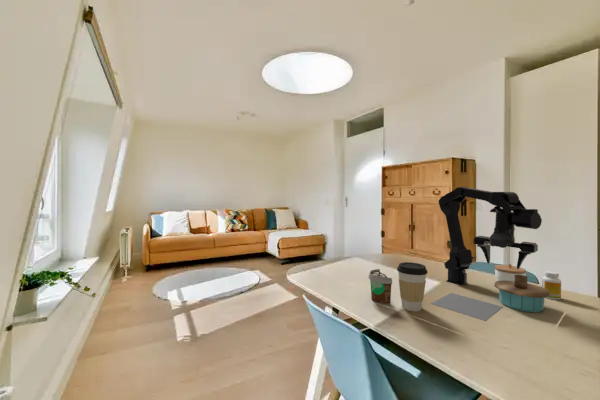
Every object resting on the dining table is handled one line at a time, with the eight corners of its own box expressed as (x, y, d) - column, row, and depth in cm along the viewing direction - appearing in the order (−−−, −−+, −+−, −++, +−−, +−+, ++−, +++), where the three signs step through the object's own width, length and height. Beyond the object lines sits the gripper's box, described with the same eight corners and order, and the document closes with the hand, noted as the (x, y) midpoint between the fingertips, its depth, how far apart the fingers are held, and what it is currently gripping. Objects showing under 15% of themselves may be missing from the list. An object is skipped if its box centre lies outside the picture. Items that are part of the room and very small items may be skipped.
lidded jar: (514, 282, 122) (514, 261, 122) (532, 290, 111) (532, 267, 111) (489, 281, 123) (489, 260, 123) (504, 289, 112) (504, 267, 112)
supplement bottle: (564, 300, 101) (565, 274, 100) (548, 299, 102) (548, 273, 101) (554, 295, 106) (554, 270, 106) (538, 294, 107) (538, 270, 107)
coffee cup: (425, 304, 96) (426, 263, 96) (429, 316, 87) (429, 270, 87) (396, 301, 100) (396, 260, 99) (396, 312, 90) (397, 267, 90)
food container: (363, 294, 107) (364, 269, 107) (378, 293, 107) (379, 268, 107) (375, 307, 95) (375, 278, 94) (392, 306, 95) (392, 278, 95)
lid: (488, 288, 96) (488, 275, 96) (501, 280, 106) (501, 267, 106) (544, 301, 85) (544, 286, 85) (553, 290, 94) (553, 277, 94)
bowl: (494, 305, 96) (495, 288, 96) (505, 297, 104) (505, 281, 104) (539, 317, 87) (539, 298, 87) (546, 307, 94) (547, 290, 94)
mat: (430, 304, 97) (430, 303, 97) (451, 293, 107) (451, 292, 107) (485, 322, 83) (485, 320, 83) (502, 307, 94) (502, 306, 94)
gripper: (468, 223, 104) (466, 264, 104) (531, 230, 89) (528, 277, 90) (479, 221, 110) (477, 259, 111) (539, 227, 96) (536, 270, 97)
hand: (502, 266), depth 102 cm, fingers open, 9 cm apart
